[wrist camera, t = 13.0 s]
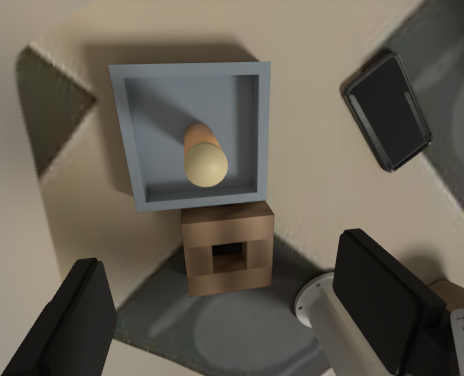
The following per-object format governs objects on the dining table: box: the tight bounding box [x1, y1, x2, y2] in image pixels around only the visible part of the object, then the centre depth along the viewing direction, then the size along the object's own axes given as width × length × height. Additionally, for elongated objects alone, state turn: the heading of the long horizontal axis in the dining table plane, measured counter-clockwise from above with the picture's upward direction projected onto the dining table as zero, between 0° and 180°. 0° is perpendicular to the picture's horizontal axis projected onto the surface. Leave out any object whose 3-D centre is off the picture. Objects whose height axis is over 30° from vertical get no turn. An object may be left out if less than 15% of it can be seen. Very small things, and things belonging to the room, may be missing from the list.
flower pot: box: [429, 280, 464, 313], centre depth 47 cm, size 12×11×10 cm
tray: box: [108, 61, 271, 213], centre depth 31 cm, size 16×16×4 cm
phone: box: [343, 52, 433, 173], centre depth 35 cm, size 8×1×15 cm
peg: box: [184, 123, 228, 187], centre depth 26 cm, size 4×4×11 cm
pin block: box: [181, 201, 274, 297], centre depth 37 cm, size 12×12×4 cm
